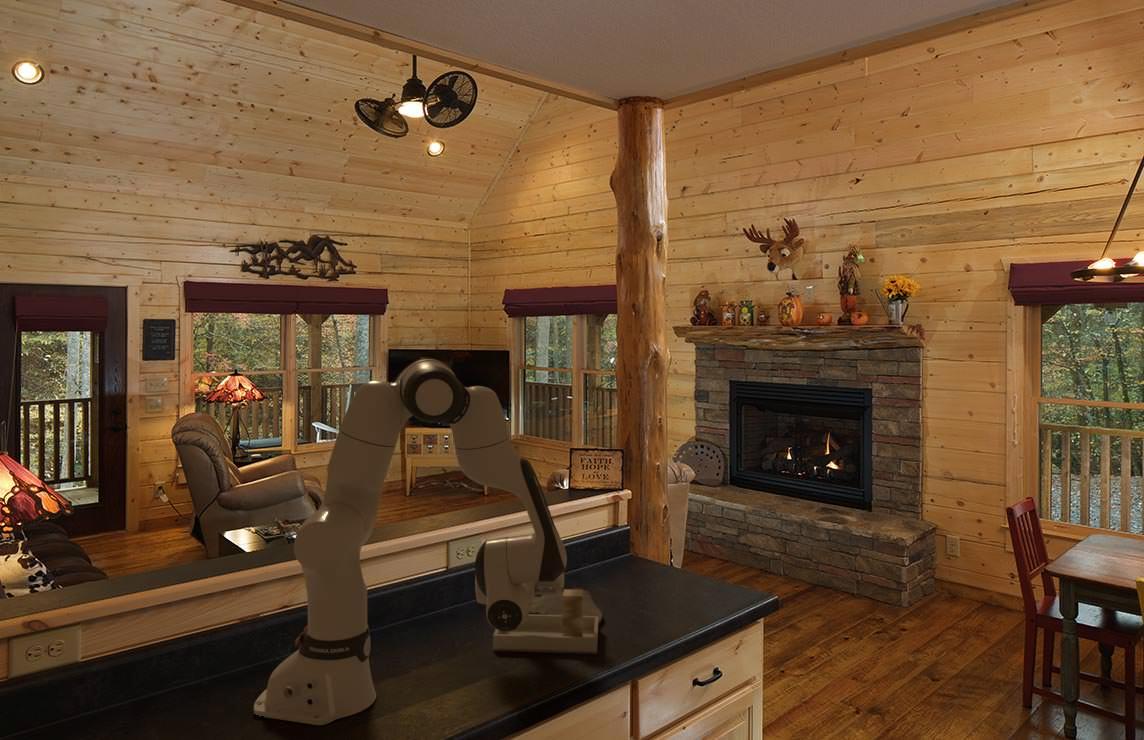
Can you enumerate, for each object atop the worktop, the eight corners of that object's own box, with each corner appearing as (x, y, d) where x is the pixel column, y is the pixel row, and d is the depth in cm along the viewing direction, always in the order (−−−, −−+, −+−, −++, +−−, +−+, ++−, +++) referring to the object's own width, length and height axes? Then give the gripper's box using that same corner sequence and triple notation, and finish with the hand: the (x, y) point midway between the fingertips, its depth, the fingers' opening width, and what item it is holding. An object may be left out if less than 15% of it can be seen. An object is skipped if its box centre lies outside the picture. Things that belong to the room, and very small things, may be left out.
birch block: (562, 642, 174) (562, 595, 174) (563, 634, 179) (564, 589, 178) (581, 643, 174) (582, 596, 174) (582, 635, 179) (583, 589, 178)
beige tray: (493, 650, 171) (493, 635, 171) (502, 627, 184) (502, 613, 184) (596, 653, 169) (596, 638, 169) (598, 630, 183) (598, 616, 183)
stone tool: (515, 609, 200) (559, 639, 179) (515, 596, 200) (558, 625, 178) (579, 594, 210) (628, 621, 188) (578, 582, 210) (627, 608, 188)
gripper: (563, 576, 163) (567, 557, 177) (469, 574, 164) (481, 555, 178) (563, 604, 163) (567, 584, 177) (469, 602, 164) (481, 582, 178)
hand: (523, 569), depth 177 cm, fingers closed on sage jar, 5 cm apart
